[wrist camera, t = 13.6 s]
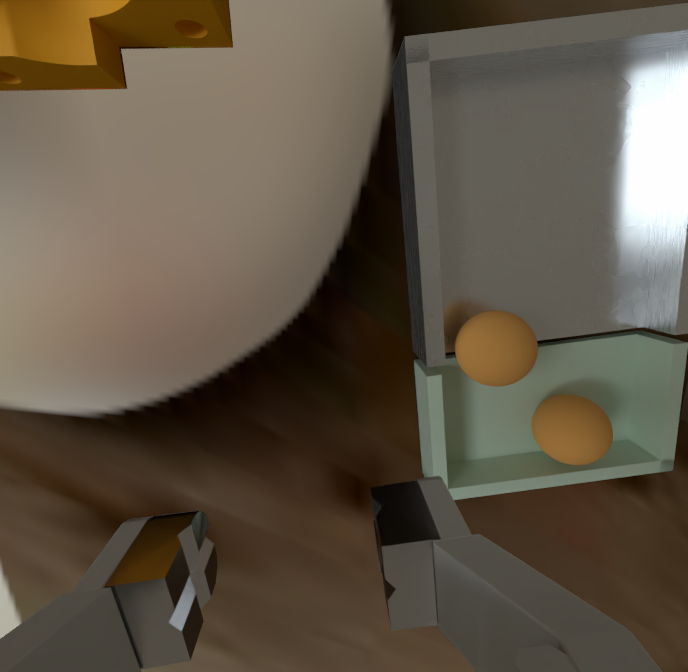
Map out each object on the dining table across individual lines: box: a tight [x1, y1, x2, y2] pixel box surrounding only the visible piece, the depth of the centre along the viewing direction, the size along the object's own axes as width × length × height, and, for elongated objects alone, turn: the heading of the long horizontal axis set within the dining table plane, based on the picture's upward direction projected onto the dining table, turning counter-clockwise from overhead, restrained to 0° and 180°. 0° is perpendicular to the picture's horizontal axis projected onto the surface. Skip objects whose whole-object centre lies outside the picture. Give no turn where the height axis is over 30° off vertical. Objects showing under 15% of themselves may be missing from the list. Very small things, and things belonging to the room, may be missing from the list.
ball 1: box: [455, 310, 538, 387], centre depth 19 cm, size 4×4×4 cm
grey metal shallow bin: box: [392, 3, 688, 367], centre depth 18 cm, size 15×14×3 cm
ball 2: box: [531, 394, 613, 465], centre depth 21 cm, size 4×4×4 cm
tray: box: [414, 330, 688, 500], centre depth 21 cm, size 8×14×3 cm, turn 97°
